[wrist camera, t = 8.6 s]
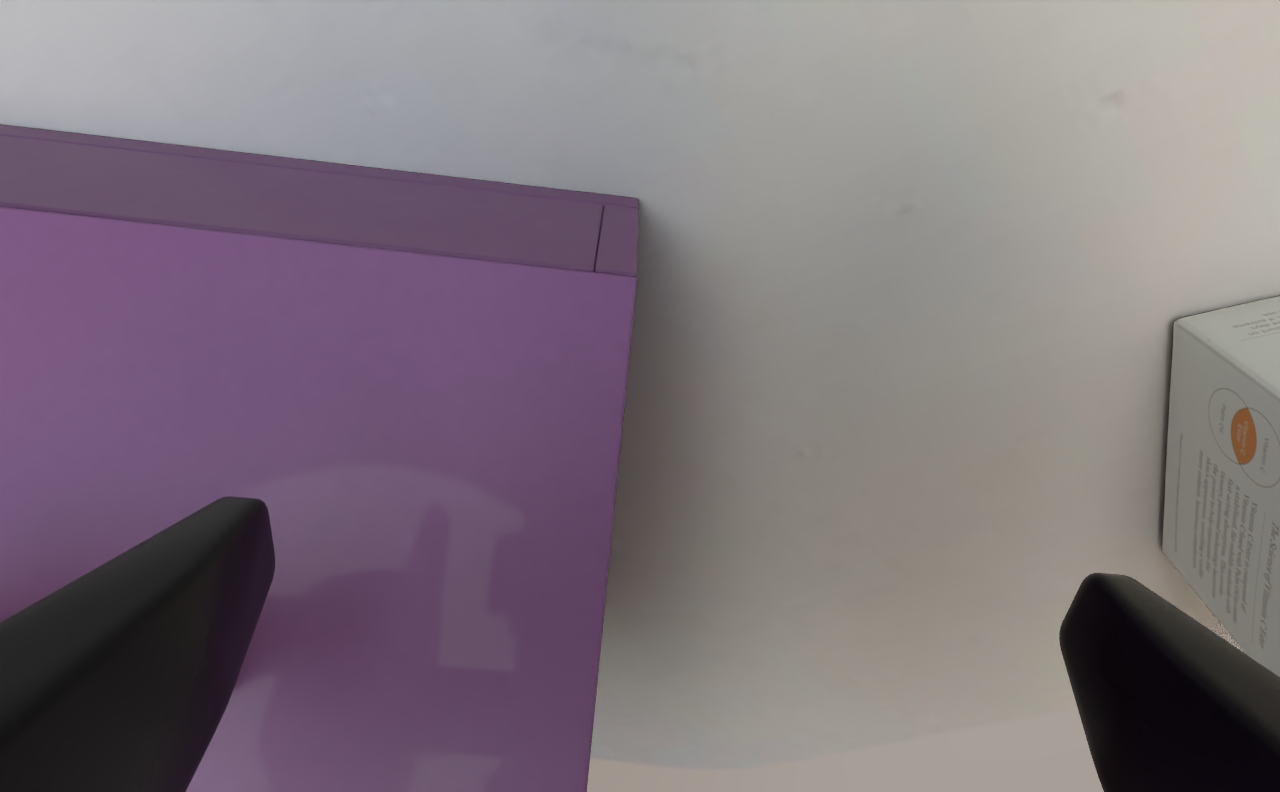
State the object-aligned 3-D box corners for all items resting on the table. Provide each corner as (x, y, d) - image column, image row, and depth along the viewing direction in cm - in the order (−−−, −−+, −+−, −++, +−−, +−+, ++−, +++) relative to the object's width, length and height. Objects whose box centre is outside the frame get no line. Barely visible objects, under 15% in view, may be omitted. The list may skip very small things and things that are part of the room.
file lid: (551, 1137, 14) (532, 1486, 9) (-528, 1072, 13) (-1214, 1418, 8) (636, 285, 16) (658, 182, 11) (-295, 182, 15) (-728, 20, 10)
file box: (590, 616, 27) (579, 747, 23) (51, 568, 26) (-63, 693, 22) (639, 197, 20) (637, 273, 16) (-88, 113, 19) (-292, 170, 15)
